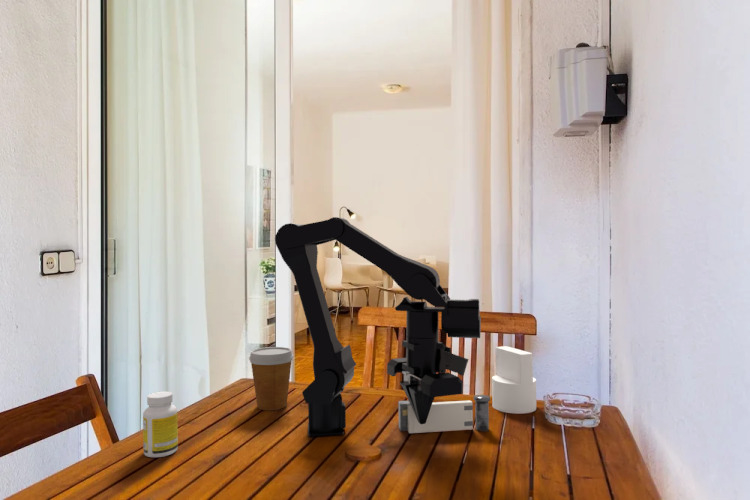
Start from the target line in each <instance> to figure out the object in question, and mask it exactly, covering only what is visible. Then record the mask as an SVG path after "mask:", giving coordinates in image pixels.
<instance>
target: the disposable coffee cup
mask: <svg viewBox="0 0 750 500" xmlns="http://www.w3.org/2000/svg"><path fill="white" fill-rule="evenodd" d="M294 355H295V354H293V351H292V348H289V347H284V346H269V347H261V348H256V349H253V350H251V352H250V355H249V356H248V360H249V361H250V363H251V364H250V365H251V372H252V378H253V386H254V391H255V393H254V394H255V398H256V407H257V409H259V410H263V411H276V410H281V409H284V408H286V407H287V406H288V397H289V396H288V395H289V388H290V379H291V378H290V377H291V371H292V370H291V369H292V361H293V358H294Z"/></svg>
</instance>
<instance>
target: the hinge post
mask: <svg viewBox="0 0 750 500" xmlns="http://www.w3.org/2000/svg"><path fill="white" fill-rule="evenodd" d="M473 401H475V411H474V412H475V430H476V431H477V432H478V431H479V432H489V429H490V426H489V424H490V423H489V422H490V417H489V415H490V413H489V411H490V410H489V402H491V397H490V396H489V395H487V394H476V395H473Z"/></svg>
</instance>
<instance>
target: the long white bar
mask: <svg viewBox="0 0 750 500" xmlns="http://www.w3.org/2000/svg"><path fill="white" fill-rule="evenodd" d="M473 405H474V404H473V401H472V400H469V399H468V400H455V401H454V400H452V401H436V402H434V401H433V403H432V405H431V408H430V411H429V415H428V418H427V421H426V423H425V424H420V423H419V422H418V420H417V418H416V416H415V413H414V411H413V409H412V406H411V404H407V409H408V431H407V432H408V434H418V433H419V434H420V433H433V432H436V433H437V432H449V431H450V432H452V431H464V430H469V431H470V430H473V429H474V420H473V417H474V416H473V414H474V413H473V411H474V410H473V407H474V406H473Z"/></svg>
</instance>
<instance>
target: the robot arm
mask: <svg viewBox="0 0 750 500" xmlns="http://www.w3.org/2000/svg"><path fill="white" fill-rule="evenodd" d="M332 241H337V243H338V242H339V243H340V244H342V246H345V248H348V249H349V250H351V251H352V252H354V253H355V254H357V255H358V256H360V257H362V258H363V259H364V260H367V262H370V263H371V264H372V265H374V266H375V267H377V268H379V269H380V270H382V271H383V272H385V273H386V274H387V275H388V276H389V277H390V278H391V279H392V280H393V281H394V282H395V284H396V285H397V286H398V287H399V288H400V289H402V290H403V291H404V292H405V293H406V294H407V295H409V297H411V298H412V299H413V300H414V299H415V300H416V301H415V300H414V301H412V300H410V298H409V297H408V296H405V297H403V299H402V301H401V302H400V303H399V304H398V305H395V308H394V310H395V311H396V312H406V319H405V320H406V331H405V332H406V333H405V334H406V338H405V339H406V340H401V341H402V342H401V344H402V345H401V347H403V348H405V349H406V353H405V357H398V358H391V359H390V360H389V361H388V362H387V364H386V374H387V375H389V376H391V377H396V376H397V374H399V373H401V374H402V375H403V380H401V381H400V382H399V384H400V386H401V387H402V389H403V392H404V393H405V396H406V397H407V399H408V400H407V401H409V402H410V404H411V406H412V409H413V411H414V413H415V416H416V418H417V420H418V422H419V423H420V424H425V423H426V421H427V418H428V415H429V411H430V408H431V405H432V403H433V402H434V400H435V398H438V397H439V398H440V397H447V396H456V395H462V394H464V381H463V380H462V379H461V378H460V377H459V376H462V377H463V376H465V372H466V369H467V366H468V362H469V359H468V358H466V357H463V356H460V355H458V354H454V353H452V348H451V347H450V346H446V345H445V344H444V343H443V342H440V341H439V313H440V314H441V316H440V317H441V320H440V321H441V322H440V323H441V325H440V326H441V332H443V333H444V334H446V335H447V337H448V338H459V339H460V338H461V339H462V338H463V339H481V332H482V331H481V327H482V326H481V325H482V324H481V323H482V319H481V317H482V316H481V315H480V311H481V310H480V300H479V298H469V299H451V297H450V296H449V295H448V293H446V290H444V288H443V287H442V285H441V279H440V275H439V273H438V271H437V270H436V269H435V268H433V267H431V266H430V265H427V264H424V263H422V262H419V261H417V260H415V259H413V258H409V257H406V256H405V255H402V254H399V253H397V252H396V251H394V250H393V249H391V248H389V247H388V246H387V245H384V244H383V243H381V242H379V241H378V240H376V239H375V238H373V236H370V235H369V234H368V233H366V232H364V231H362V230H361V229H359V228H357V226H355V225H353V224H351V223H350V222H349V220H348V219H346V218H343V217H337V216H336V217H335V216H332V217H330V218H328V219H326V220H325V219H324V220H321V221H316V222H311V223H306V224H300V223H285V224H283V225H281V227H280V228H279V229H278V230H277V232H276V234H275V237H274V243H275V246H276V248H277V250H278V252H279V254H280V256H281V259H282V260H283V262H284V264H286V266H287V267H288V269H289V270H290V271H291V273H292V274H293V275H292V276H293V278H294V281H295V285H296V287H297V291H298V295H299V298H300V302H301V305H302V309H303V313H304V315H305V319H306V323H307V327H308V331H309V333H310V337H311V340H312V345H313V357H312V367H313V377H314V380H313V381H312V382H311V383H310V384H309V385H308V386H307V387H306V388H305V389H303V391H302V397H303V399H304V403H306V404H308V406H307V407H308V408H307V410H308V411H307V412H308V417H307V418H308V423H307V436H308V437H322V436H323V437H325V436H339V435H340V436H341V435H344V434H345V433H344V432H345V431H344V429H345V428H346V425H347V424H346V421H347V419H346V418H347V417H346V416H347V415H346V414H347V413H346V403H345V402H344V401H343V397H342V393H343V392H344V390H345V387H346V386H347V385H349V383H350V382H351V381H352V379H353V378H354V375H355V367H356V366H357V363H356V362H355V360H354V358H353V354H352V347H351V345H350V344H348V345H346V346H343V345H342V343H341V342H340V341H339V339H338V336H337V333H336V330H335V327H334V324H333V320H332V317H331V314H330V313H331V312H330V310H329V306H328V303H327V300H326V296H325V292H324V288H323V286H322V282H321V278H320V275H319V271H318V266H317V265H318V254H319V251H318V245H322V244H323V245H324V244H326V243H330V242H332ZM418 300H419V301H418ZM421 300H422V301H421ZM423 300H425V301H423ZM427 303H428V304H430V305H432V306H428V304H427ZM446 370H447V371H450V372H453V373H456V374H458V375H459V376H457V375H455V374H453V373H450V372H447V371H446Z"/></svg>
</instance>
